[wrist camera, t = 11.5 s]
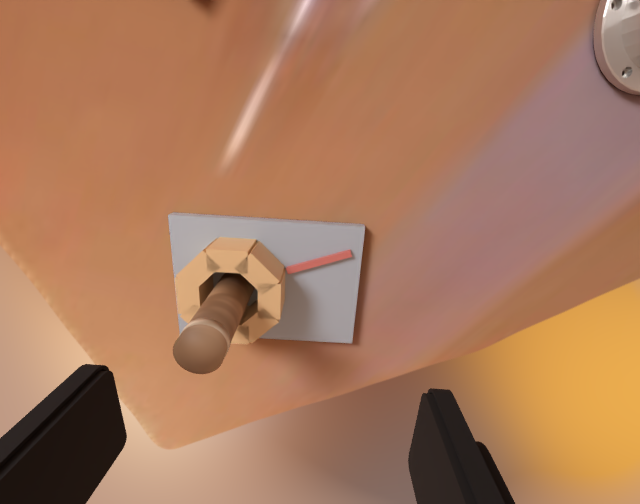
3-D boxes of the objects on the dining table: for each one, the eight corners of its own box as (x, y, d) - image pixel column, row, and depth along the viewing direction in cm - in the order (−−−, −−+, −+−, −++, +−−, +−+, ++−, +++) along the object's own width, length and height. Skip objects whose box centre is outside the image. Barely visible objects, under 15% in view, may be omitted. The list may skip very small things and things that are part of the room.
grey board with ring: (363, 224, 32) (371, 238, 28) (351, 337, 37) (355, 366, 32) (173, 212, 32) (146, 224, 27) (184, 328, 37) (162, 356, 32)
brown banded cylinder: (255, 267, 33) (223, 332, 21) (256, 298, 34) (225, 375, 23) (220, 265, 33) (169, 330, 21) (222, 296, 34) (174, 373, 23)
